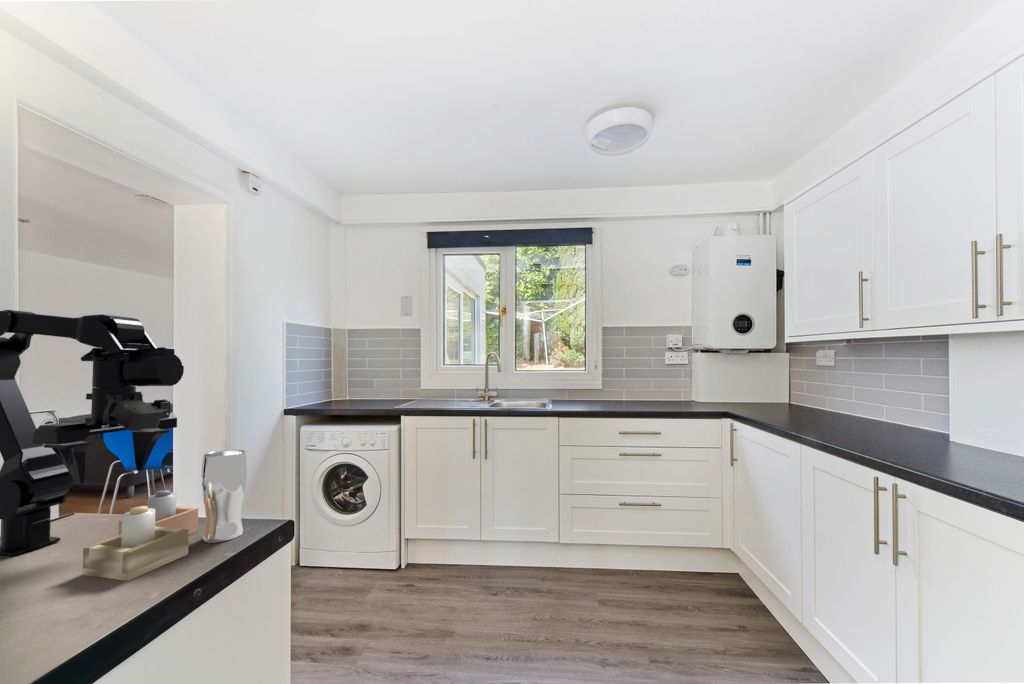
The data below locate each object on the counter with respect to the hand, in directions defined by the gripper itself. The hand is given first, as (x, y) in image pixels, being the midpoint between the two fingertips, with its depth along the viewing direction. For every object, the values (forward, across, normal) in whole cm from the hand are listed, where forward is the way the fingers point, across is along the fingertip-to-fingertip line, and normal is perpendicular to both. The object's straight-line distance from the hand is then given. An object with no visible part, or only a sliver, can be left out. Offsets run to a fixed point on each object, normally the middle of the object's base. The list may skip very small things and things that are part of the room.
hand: (111, 476), depth 75 cm
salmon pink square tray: (+12, +5, -4) cm, 14 cm away
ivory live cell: (+11, -4, -12) cm, 17 cm away
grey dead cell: (+11, +5, -4) cm, 13 cm away
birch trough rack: (+12, -4, -12) cm, 17 cm away
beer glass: (+12, +8, -16) cm, 21 cm away
